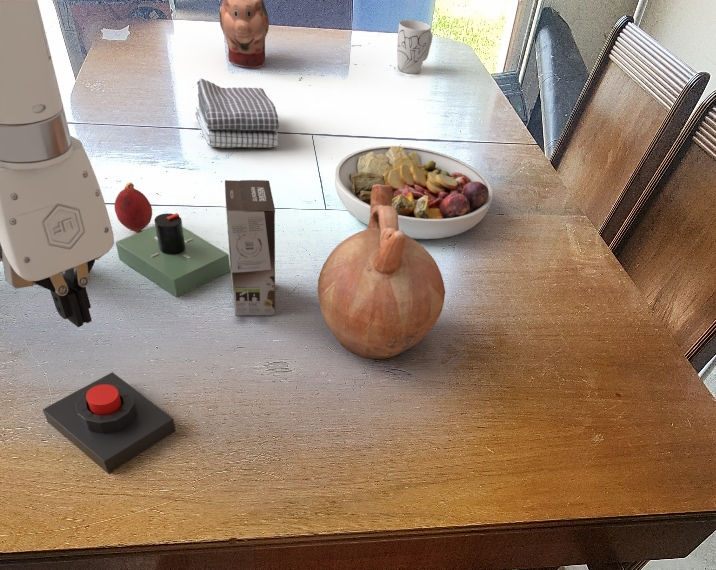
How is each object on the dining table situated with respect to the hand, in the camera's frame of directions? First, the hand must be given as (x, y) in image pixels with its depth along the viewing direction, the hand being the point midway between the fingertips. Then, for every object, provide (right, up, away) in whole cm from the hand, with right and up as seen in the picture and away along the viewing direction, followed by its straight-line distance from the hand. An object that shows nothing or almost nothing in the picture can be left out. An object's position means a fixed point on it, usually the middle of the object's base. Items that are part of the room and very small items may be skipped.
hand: (76, 318), depth 64 cm
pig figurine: (+1, +97, +94) cm, 135 cm away
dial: (+1, +21, +31) cm, 37 cm away
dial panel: (0, +19, +33) cm, 38 cm away
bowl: (+40, +39, +53) cm, 77 cm away
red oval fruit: (-8, +27, +38) cm, 47 cm away
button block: (-1, -10, +11) cm, 15 cm away
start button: (0, -8, +8) cm, 11 cm away
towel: (+4, +61, +66) cm, 90 cm away
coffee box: (+14, +12, +30) cm, 35 cm away
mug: (+45, +101, +102) cm, 151 cm away
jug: (+33, +6, +27) cm, 43 cm away
